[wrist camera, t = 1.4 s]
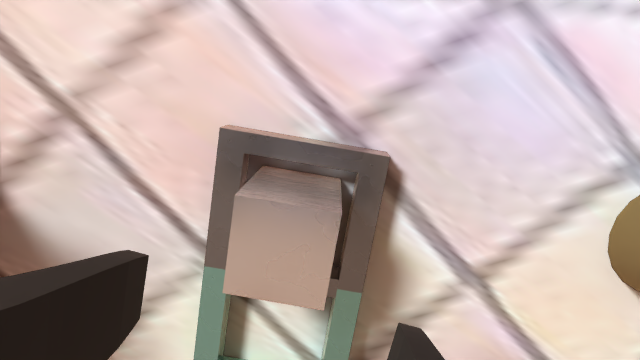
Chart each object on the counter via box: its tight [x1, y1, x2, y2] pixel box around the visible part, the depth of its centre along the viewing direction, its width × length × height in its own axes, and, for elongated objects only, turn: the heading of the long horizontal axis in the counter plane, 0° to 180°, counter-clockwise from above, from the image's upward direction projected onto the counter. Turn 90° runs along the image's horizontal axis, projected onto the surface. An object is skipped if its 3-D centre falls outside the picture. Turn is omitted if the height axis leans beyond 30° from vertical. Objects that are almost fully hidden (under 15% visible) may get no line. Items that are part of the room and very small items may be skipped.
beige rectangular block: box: [223, 166, 342, 311], centre depth 19 cm, size 4×4×6 cm
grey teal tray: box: [194, 125, 390, 360], centre depth 21 cm, size 8×14×2 cm, turn 170°
